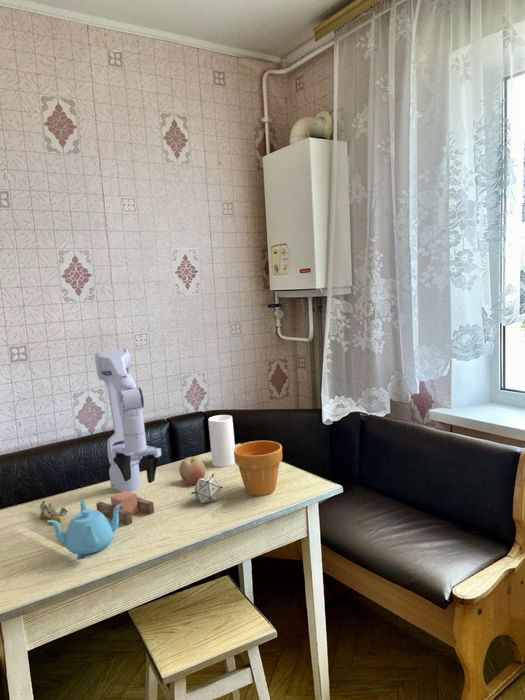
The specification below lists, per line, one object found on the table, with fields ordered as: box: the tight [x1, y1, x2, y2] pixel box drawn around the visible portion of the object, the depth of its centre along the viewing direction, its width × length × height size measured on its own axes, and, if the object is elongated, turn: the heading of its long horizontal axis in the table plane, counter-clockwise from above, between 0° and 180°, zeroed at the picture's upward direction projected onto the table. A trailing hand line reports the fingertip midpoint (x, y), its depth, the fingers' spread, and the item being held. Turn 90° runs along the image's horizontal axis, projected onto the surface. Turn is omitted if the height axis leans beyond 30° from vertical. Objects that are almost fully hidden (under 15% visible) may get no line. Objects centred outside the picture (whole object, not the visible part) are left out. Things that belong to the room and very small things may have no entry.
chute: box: [96, 496, 155, 526], centre depth 148 cm, size 14×9×4 cm, turn 50°
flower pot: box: [234, 440, 283, 497], centre depth 158 cm, size 14×14×13 cm
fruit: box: [179, 456, 206, 485], centre depth 169 cm, size 8×8×8 cm
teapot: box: [47, 499, 123, 560], centre depth 130 cm, size 13×13×10 cm
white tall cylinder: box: [207, 414, 236, 468], centre depth 184 cm, size 8×8×16 cm
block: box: [110, 491, 140, 516], centre depth 147 cm, size 5×5×5 cm
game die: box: [190, 473, 224, 505], centre depth 152 cm, size 9×8×10 cm
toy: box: [38, 500, 68, 526], centre depth 150 cm, size 5×5×15 cm
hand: (139, 480), depth 147 cm, fingers open, 7 cm apart
